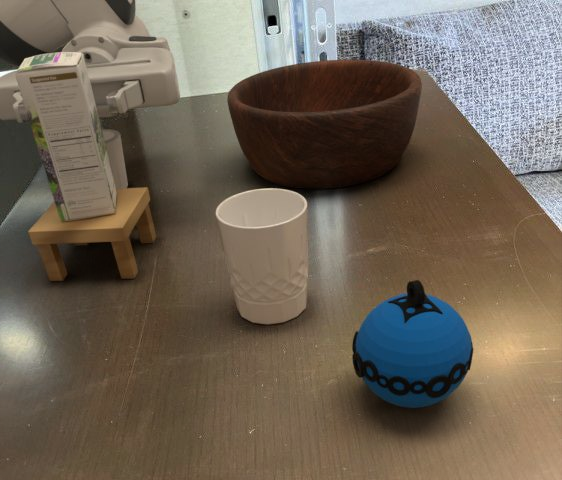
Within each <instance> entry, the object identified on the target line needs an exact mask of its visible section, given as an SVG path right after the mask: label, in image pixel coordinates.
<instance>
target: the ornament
mask: <svg viewBox="0 0 562 480" xmlns="http://www.w3.org/2000/svg"><path fill="white" fill-rule="evenodd" d="M351 348H352V352H353V353H352V356H351V357H352V366H353V369H354V372H355V374H356V376H357V377H358V378H359V379H362V381H363V382H364V383H365V385H366V386H367V387H368V388H369V390H370V391H371V392H372V393H373V394H374V395H375V396H377V397H379V398H380V399H381V400H383V401H385V402H387V403H389V404H391V405H394V406H397V407H402V408H409V409H410V408H412V409H413V408H415V409H416V408H417V409H418V408H425V407H429V406H432V405H436V404H437V403H439V402H442V401H443V400H445V399H446V398H448V397H449V396H451V394H452V393H454V392H455V391H456V390H457V389H458V388H459V387H460V385H461V384H462V383H463V381H464V379H465V378H466V376H467V374H468V372H469V371H471V366H472V362H473V356H474V346H473V340H472V336H471V333H470V331H469V328H468V326H467V324H466V322H465V320H464V319H463V317H462V316H461V314H459V312H458V311H457V310H456V309H455V308H454V307H452V306H451V305H450V304H449V303H447V302H446V301H444V300H442V299H440V298H438V297H436V296H433V295H431V294H426V292H425V288H424V284H422V282H421V281H420V280H419V279H416V280H412V281H408V282H407V285H406V293H400V294H398V295H394V296H392V297H390V298H388V299H385V300H383V301H382V302H380V303H379V304H377V305H376V306H375V307H374V308H373V309H371V310H370V312H369V313H368V314H367V315H366V317H365V318H364V320H363V321H362V323H361V325H360V326H359V329H358V330H357V331H355V333H354V335H353V337H352V345H351Z"/></svg>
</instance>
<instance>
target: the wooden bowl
mask: <svg viewBox="0 0 562 480" xmlns="http://www.w3.org/2000/svg"><path fill="white" fill-rule="evenodd" d="M422 87H423V83H422V79H421V77H420V75H419V74H418V72H415V71H414V70H413V69H411V68H409V67H406V66H404V65H400V64H397V63H393V62H388V61H382V60H381V61H380V60H370V59H331V60H330V59H329V60H318V61H317V60H316V61H308V62H300V63H293V64H289V65H284V66H280V67H274V68H271V69H267V70H264V71H261V72H258V73H255V74H253V75H252V74H251V75H249V76H247V77H246V78H244V79H242V80H240V81H239V82H236V84H235V85H233V86H232V87H231V89H230V90H229V91H228V93H227V101H226V102H227V107H228V112H229V115H230V119H231V123H232V126H233V129H234V134H235V135H236V139H237V141H238V144H239V147H240V149H241V151H242V153H243V156H244V157H245V159H246V161H247V162H248V164H249V165H250V166H251V168H252V169H253V170H254V171H255V172H256V173H257V175H259V176H261V178H263V179H264V180H266V181H268V182H270V183H273V184H276V185H279V186H283V187H287V188H295V189H305V190H306V189H307V190H321V189H322V190H325V189H326V190H327V189H335V188H343V187H349V186H354V185H359V184H362V183H366V182H369V181H371V180H374V179H376V178H379V177H381V176H383V175H384V174H386V173H388V172H389V171H390V170H391V169H393V168H394V167H395V166H396V165H397V164H398V163H399V161H400V159H401V158H402V157H403V155H404V153H405V151H406V150H407V148H408V146H409V144H410V141H411V139H412V136H413V133H414V130H415V126H416V123H417V117H418V112H419V106H420V101H421V96H422Z"/></svg>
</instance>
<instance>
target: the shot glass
mask: <svg viewBox="0 0 562 480" xmlns="http://www.w3.org/2000/svg"><path fill="white" fill-rule="evenodd" d="M102 132H103V136H104V140H105V144H106V148H107V152H108V156H109V160H110V164H111V168H112V173H113V177H114V181H115V185H116V189H122V188H128V186H129V183H128V176H127V169H126V161H125V156H124V149H123V143H122V137H121V133H120V132H119V131H118V130H115V129H110V128H109V129H106V128H105V129H103V128H102Z"/></svg>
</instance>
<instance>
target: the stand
mask: <svg viewBox="0 0 562 480" xmlns="http://www.w3.org/2000/svg"><path fill="white" fill-rule="evenodd" d="M150 202H151V195H150V192H149V187H147V186H146V187H144V186H143V187H127V188H122V189H117V198H116V212H115V213H114V214H108V215H102V216H97V217H91V218H85V219H78V220H72V221H64V222H63V221H61V220H60V217H59V214H58V211H57V208H56V205H55V201H54V200H53V202H52V204H51V205H50V206H49V207H48V208H47V209H45V211H44V212H43V214H42V215H41V216H40V217H39V218H38V220H37V221H36V222H35V223H34V224H33V225H32V226H31V228H29V230H28V231H27V233H28V235H29V236H28V237H29V238H30V241H31V243H32V245H36V248H37V250H38V253H39V255H40V258H41V260H42V263H43V266H44V269H45V271H46V274H47V277H48V280H49V281H50V282H63V281H64V280H65V278H66V277H67V275H68V271H67V268H66V265H65V261H64V259H63V257H62V254H61V250H60V248H59V245H58V244H74V246H76V247H77V246H78V247H79V246H80V247H81V246H89V244H90V243H110V244H111V247H112V250H113V254H114V258H115V262H116V265H117V268H118V271H119V276H120V278H121V280H128V279H129V280H133V279H136V278H137V275H138V273H139V269H138V265H137V262H136V258H135V254H134V250H133V247H132V242H131V238H130V235H131V233H132V231H133V230H134V228H135V227H136V229H137V233H138V237H139V241H140V243H141V244H154V242H155V241H156V239H157V234H156V230H155V225H154V221H153V217H152V212H151V208H150V204H149V203H150Z"/></svg>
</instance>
